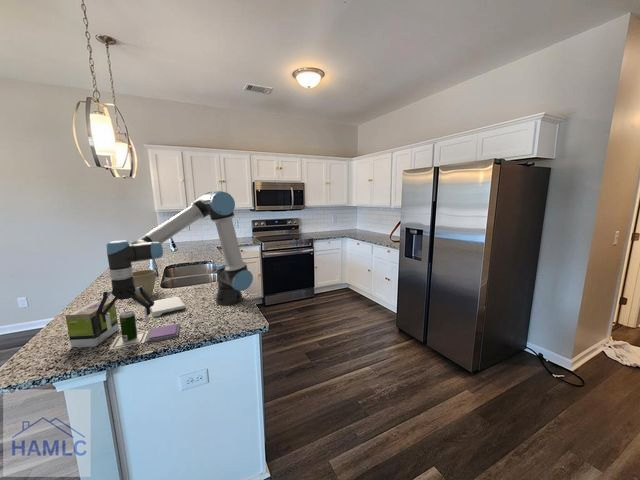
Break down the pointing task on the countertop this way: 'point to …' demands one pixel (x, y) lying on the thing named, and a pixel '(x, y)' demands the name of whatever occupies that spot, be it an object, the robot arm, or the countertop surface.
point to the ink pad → (163, 333)
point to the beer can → (128, 326)
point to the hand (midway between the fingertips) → (128, 325)
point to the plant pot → (144, 281)
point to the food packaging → (166, 306)
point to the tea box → (90, 325)
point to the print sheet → (120, 343)
